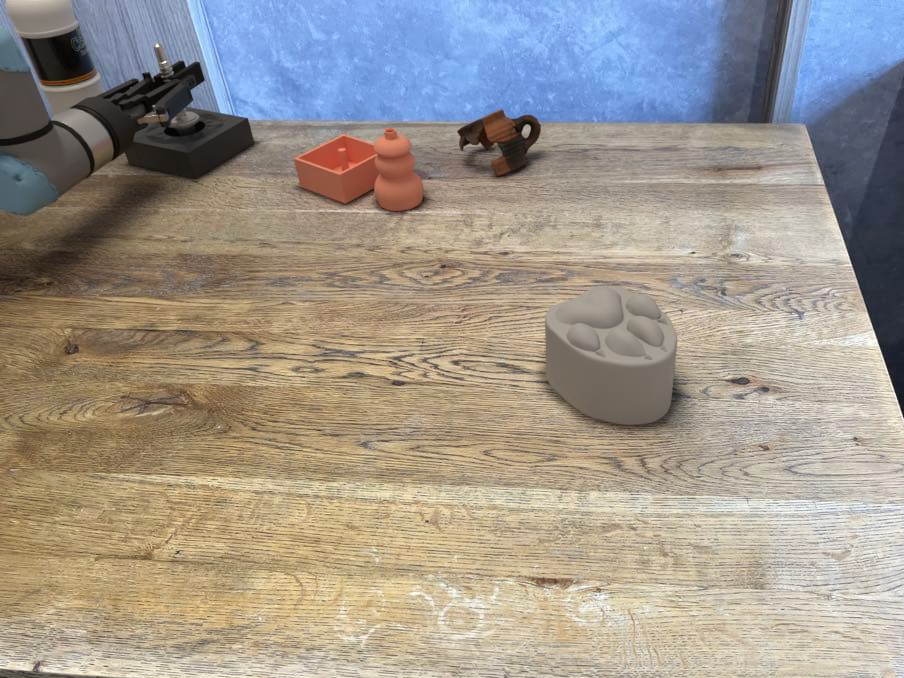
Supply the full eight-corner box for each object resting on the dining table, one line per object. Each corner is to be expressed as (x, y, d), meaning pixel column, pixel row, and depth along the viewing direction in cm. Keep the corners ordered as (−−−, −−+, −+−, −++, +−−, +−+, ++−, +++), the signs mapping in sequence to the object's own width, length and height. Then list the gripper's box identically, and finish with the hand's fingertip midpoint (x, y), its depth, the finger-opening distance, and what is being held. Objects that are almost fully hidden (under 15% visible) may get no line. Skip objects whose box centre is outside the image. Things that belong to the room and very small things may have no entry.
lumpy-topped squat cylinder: (610, 334, 87) (612, 264, 81) (698, 395, 79) (708, 323, 74) (532, 373, 83) (529, 302, 77) (618, 443, 75) (621, 370, 69)
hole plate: (129, 164, 122) (119, 138, 119) (190, 130, 130) (182, 105, 128) (196, 179, 117) (187, 152, 115) (254, 143, 126) (248, 117, 124)
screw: (175, 142, 119) (165, 132, 122) (207, 133, 121) (197, 123, 124) (143, 50, 111) (134, 41, 114) (179, 42, 113) (169, 34, 116)
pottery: (300, 186, 115) (283, 118, 108) (349, 161, 120) (336, 95, 114) (393, 221, 107) (382, 150, 100) (441, 193, 112) (433, 123, 106)
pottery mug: (480, 186, 114) (454, 129, 112) (472, 187, 123) (448, 134, 121) (557, 150, 115) (533, 93, 113) (543, 153, 124) (521, 100, 122)
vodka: (59, 141, 129) (-35, -76, 109) (120, 126, 132) (40, -86, 112) (68, 162, 123) (-30, -63, 103) (132, 147, 126) (49, -73, 106)
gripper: (52, 159, 108) (157, 92, 125) (150, 168, 105) (244, 99, 122) (27, 102, 103) (139, 41, 120) (129, 111, 100) (230, 47, 117)
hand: (192, 70), depth 121 cm, fingers closed on screw, 2 cm apart
